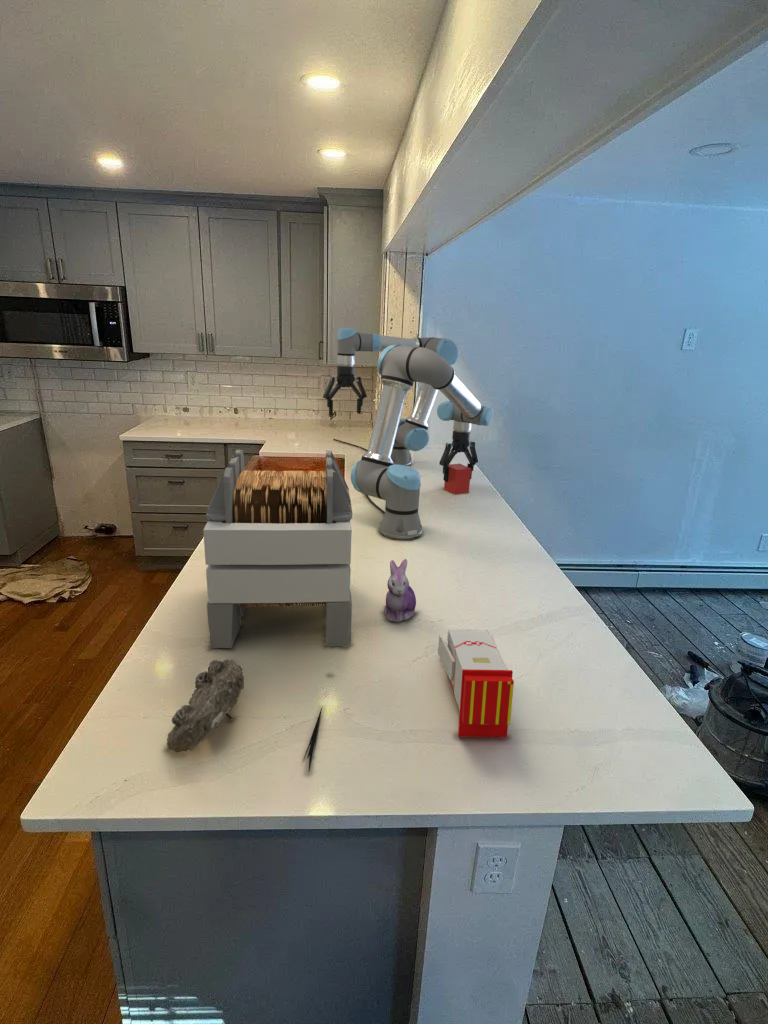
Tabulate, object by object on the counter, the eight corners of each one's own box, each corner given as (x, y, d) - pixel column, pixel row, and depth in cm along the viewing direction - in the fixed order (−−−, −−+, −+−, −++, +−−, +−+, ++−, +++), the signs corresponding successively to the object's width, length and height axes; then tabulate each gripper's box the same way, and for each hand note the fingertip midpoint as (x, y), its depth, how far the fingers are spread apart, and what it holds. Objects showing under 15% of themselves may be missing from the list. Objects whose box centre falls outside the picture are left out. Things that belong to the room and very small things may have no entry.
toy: (488, 613, 130) (523, 677, 101) (484, 667, 133) (517, 744, 104) (435, 612, 130) (455, 676, 101) (432, 666, 133) (451, 743, 103)
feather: (331, 679, 122) (336, 673, 122) (307, 777, 96) (313, 769, 95) (324, 675, 122) (329, 669, 121) (298, 772, 95) (304, 764, 95)
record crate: (229, 582, 160) (221, 440, 146) (345, 581, 163) (348, 442, 150) (207, 650, 128) (194, 478, 114) (351, 647, 132) (356, 479, 118)
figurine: (392, 627, 141) (395, 572, 136) (374, 608, 149) (376, 556, 144) (425, 619, 145) (429, 566, 140) (405, 601, 154) (408, 550, 149)
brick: (468, 492, 249) (471, 468, 245) (454, 494, 246) (456, 469, 242) (457, 487, 256) (459, 463, 252) (443, 488, 253) (445, 464, 249)
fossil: (192, 660, 117) (244, 628, 112) (224, 691, 120) (276, 661, 115) (142, 746, 98) (202, 712, 93) (182, 779, 101) (242, 748, 96)
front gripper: (479, 427, 250) (474, 474, 257) (433, 430, 240) (429, 479, 247) (489, 430, 244) (484, 479, 251) (442, 434, 233) (439, 484, 241)
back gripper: (368, 364, 255) (366, 411, 263) (315, 364, 244) (315, 413, 252) (375, 366, 249) (373, 414, 256) (322, 366, 238) (321, 416, 245)
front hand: (457, 479), depth 249 cm, fingers open, 11 cm apart
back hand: (344, 414), depth 254 cm, fingers open, 13 cm apart
